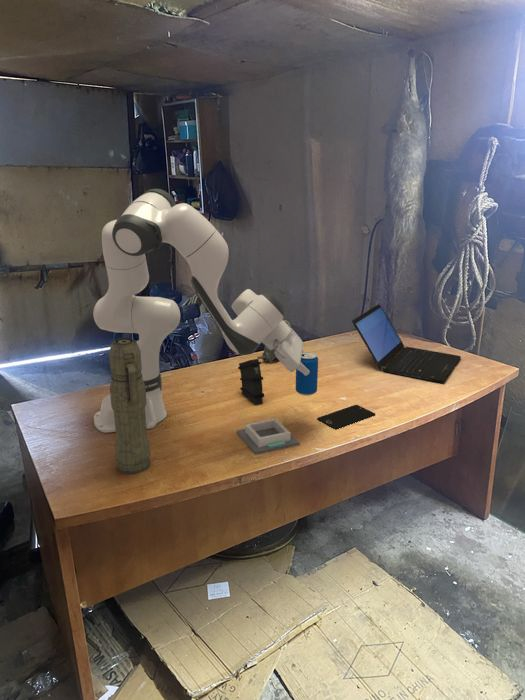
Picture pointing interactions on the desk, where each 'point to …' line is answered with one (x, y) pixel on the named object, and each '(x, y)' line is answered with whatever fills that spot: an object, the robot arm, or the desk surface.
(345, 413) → the cell phone
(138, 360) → the thermos
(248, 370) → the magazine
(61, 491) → the desk surface
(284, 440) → the charging dock
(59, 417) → the desk surface
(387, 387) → the desk surface
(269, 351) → the caster wheel
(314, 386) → the beverage can
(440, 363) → the laptop
